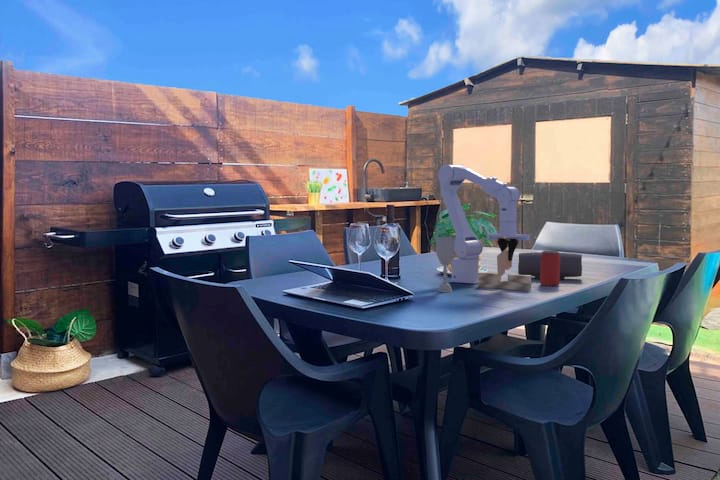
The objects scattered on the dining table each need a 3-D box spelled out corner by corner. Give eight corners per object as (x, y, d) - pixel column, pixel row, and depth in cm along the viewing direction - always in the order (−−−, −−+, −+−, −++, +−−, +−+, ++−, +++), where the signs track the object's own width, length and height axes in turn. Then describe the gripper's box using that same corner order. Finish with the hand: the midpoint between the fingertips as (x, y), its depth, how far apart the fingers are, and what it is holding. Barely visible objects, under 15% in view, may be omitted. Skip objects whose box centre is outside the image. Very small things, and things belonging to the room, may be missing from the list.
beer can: (554, 287, 212) (555, 253, 211) (536, 285, 216) (537, 251, 215) (562, 285, 217) (563, 251, 216) (544, 283, 221) (545, 250, 220)
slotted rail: (478, 286, 215) (478, 272, 214) (480, 286, 216) (480, 272, 216) (529, 290, 205) (529, 276, 205) (531, 290, 207) (531, 275, 207)
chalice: (431, 291, 206) (431, 238, 204) (438, 288, 212) (438, 236, 210) (452, 293, 202) (452, 238, 201) (458, 290, 208) (458, 237, 207)
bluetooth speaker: (517, 279, 231) (518, 253, 230) (519, 275, 240) (519, 250, 239) (581, 281, 225) (582, 254, 224) (580, 277, 234) (581, 251, 233)
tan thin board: (497, 276, 206) (496, 256, 205) (508, 266, 216) (507, 247, 215) (501, 276, 206) (500, 256, 204) (511, 266, 216) (511, 247, 214)
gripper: (484, 221, 212) (483, 260, 213) (525, 222, 205) (525, 262, 206) (490, 220, 218) (490, 258, 219) (531, 221, 211) (530, 260, 212)
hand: (507, 260), depth 213 cm, fingers closed on tan thin board, 1 cm apart
